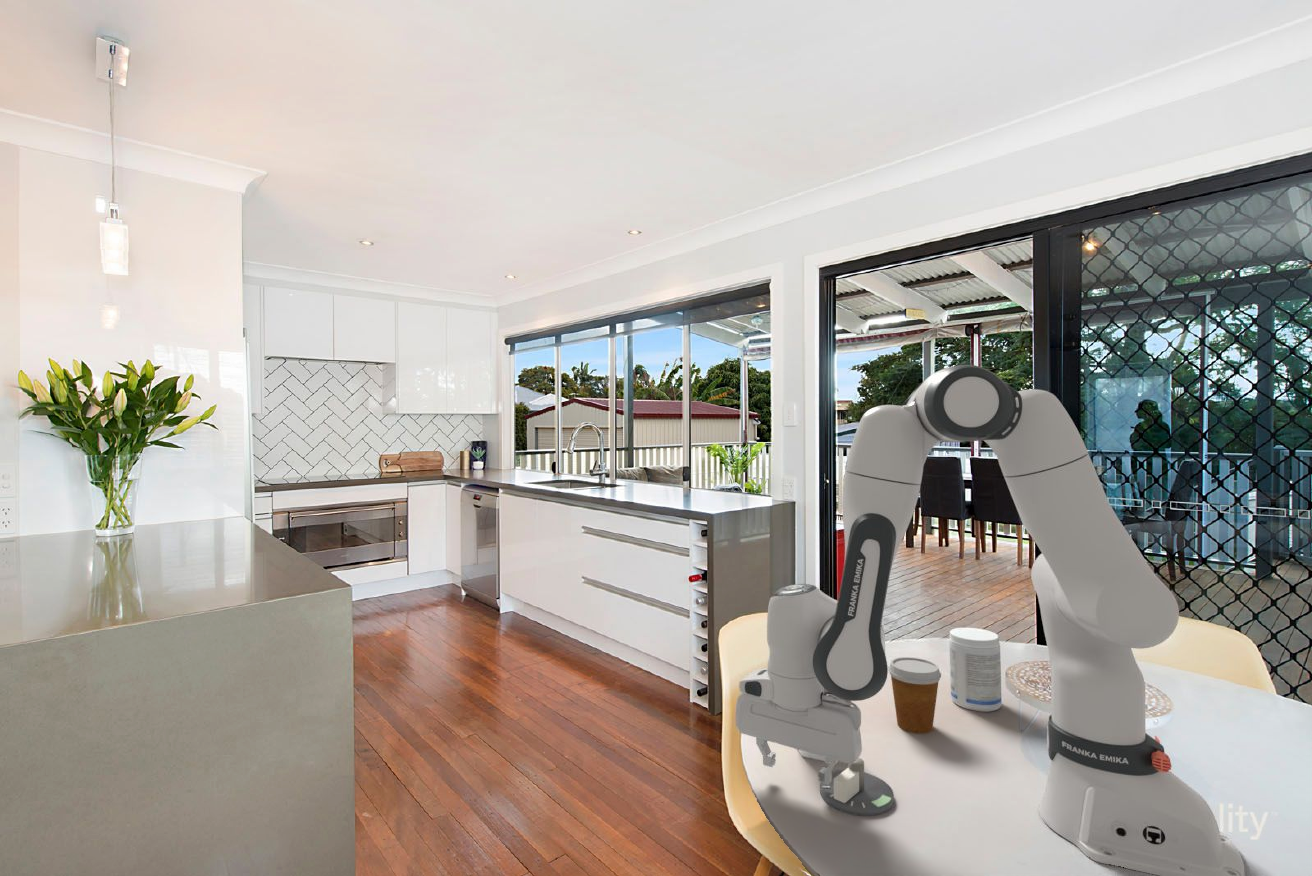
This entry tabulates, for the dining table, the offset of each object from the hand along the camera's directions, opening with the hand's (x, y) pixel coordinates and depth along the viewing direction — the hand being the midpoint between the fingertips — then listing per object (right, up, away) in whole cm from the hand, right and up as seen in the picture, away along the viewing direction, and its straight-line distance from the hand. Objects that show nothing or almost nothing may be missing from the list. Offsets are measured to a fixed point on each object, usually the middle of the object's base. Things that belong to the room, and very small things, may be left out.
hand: (796, 773), depth 102 cm
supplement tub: (+44, -2, +31) cm, 54 cm away
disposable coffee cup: (+28, -2, +21) cm, 35 cm away
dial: (+9, -2, -2) cm, 9 cm away
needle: (+7, -1, -4) cm, 8 cm away
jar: (+7, -3, +12) cm, 14 cm away
